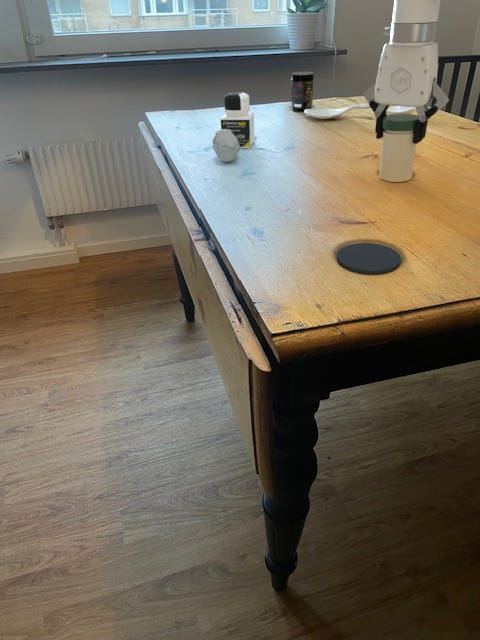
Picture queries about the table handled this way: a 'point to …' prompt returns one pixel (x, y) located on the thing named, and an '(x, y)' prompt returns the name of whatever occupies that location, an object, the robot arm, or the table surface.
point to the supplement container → (302, 91)
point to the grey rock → (225, 145)
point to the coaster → (368, 258)
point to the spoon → (337, 112)
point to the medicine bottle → (239, 118)
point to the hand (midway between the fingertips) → (399, 138)
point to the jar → (397, 156)
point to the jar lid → (400, 122)
